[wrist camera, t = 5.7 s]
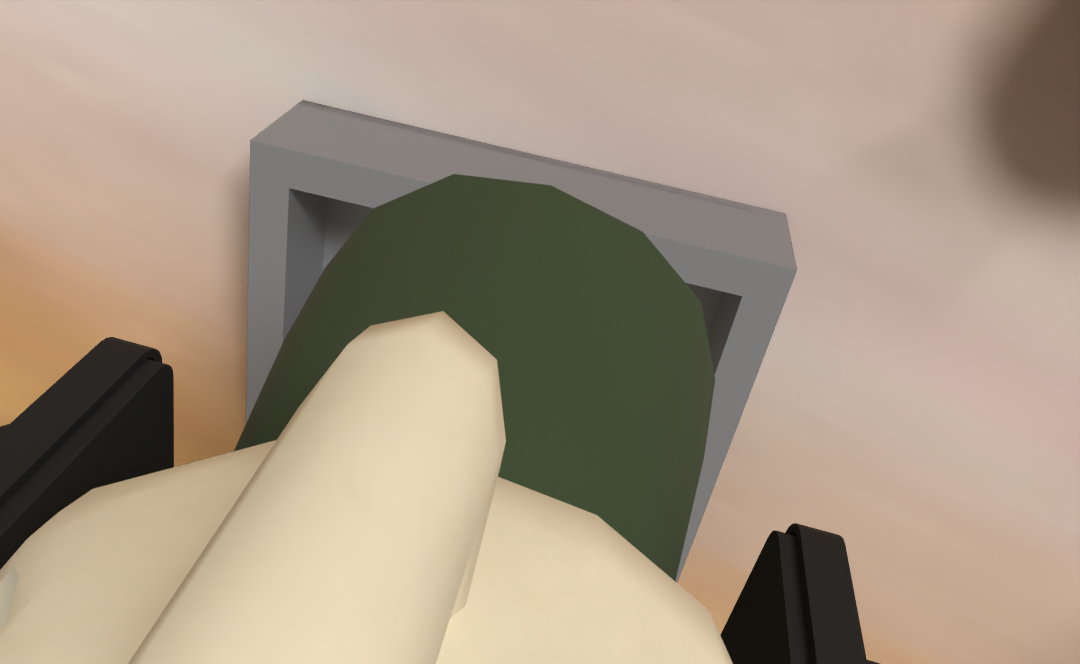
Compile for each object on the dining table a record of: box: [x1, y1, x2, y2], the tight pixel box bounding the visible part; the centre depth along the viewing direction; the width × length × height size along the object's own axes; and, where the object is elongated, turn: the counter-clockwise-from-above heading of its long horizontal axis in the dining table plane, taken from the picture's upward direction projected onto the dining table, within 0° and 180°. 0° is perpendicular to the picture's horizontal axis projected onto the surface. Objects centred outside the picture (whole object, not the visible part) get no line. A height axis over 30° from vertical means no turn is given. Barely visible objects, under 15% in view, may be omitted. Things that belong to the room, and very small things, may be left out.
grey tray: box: [246, 100, 797, 583], centre depth 32 cm, size 16×16×4 cm
